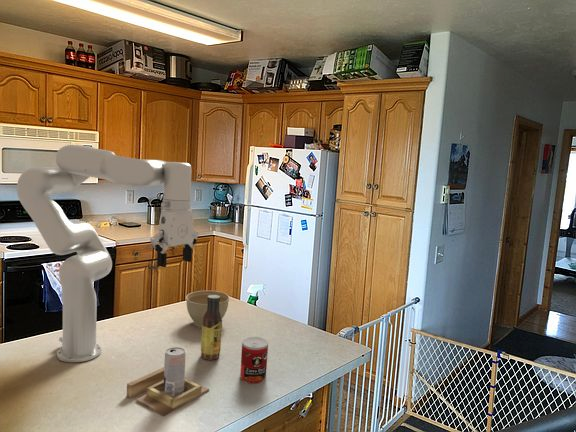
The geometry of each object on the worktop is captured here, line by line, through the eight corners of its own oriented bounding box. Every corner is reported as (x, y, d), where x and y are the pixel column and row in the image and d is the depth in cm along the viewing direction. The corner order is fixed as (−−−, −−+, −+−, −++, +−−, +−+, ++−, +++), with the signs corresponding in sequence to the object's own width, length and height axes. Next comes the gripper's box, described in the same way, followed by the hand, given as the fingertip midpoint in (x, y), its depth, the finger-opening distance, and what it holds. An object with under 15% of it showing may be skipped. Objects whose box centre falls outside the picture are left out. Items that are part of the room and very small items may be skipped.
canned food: (242, 385, 129) (244, 348, 127) (238, 371, 136) (240, 337, 135) (268, 383, 131) (271, 347, 129) (262, 370, 138) (265, 336, 137)
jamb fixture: (126, 396, 119) (127, 383, 118) (173, 374, 132) (173, 362, 132) (163, 416, 111) (164, 402, 110) (208, 390, 124) (209, 378, 124)
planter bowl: (183, 317, 177) (184, 291, 176) (224, 316, 182) (225, 290, 181) (186, 333, 162) (187, 304, 161) (231, 331, 167) (232, 303, 165)
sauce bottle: (216, 361, 142) (219, 301, 139) (197, 358, 143) (200, 298, 140) (223, 353, 148) (226, 295, 145) (205, 350, 149) (208, 292, 147)
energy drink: (175, 386, 124) (177, 345, 122) (188, 394, 121) (189, 351, 119) (159, 393, 120) (160, 350, 118) (171, 401, 117) (173, 357, 115)
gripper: (162, 208, 120) (159, 271, 122) (207, 205, 134) (204, 261, 136) (143, 205, 124) (141, 266, 126) (189, 202, 138) (187, 257, 140)
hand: (174, 263), depth 131 cm, fingers open, 9 cm apart
